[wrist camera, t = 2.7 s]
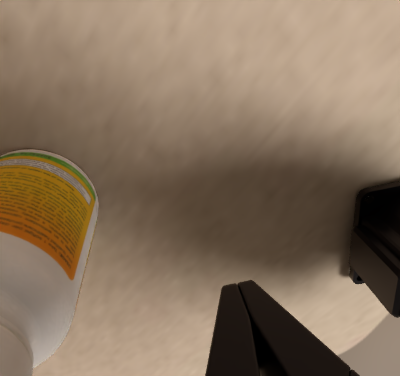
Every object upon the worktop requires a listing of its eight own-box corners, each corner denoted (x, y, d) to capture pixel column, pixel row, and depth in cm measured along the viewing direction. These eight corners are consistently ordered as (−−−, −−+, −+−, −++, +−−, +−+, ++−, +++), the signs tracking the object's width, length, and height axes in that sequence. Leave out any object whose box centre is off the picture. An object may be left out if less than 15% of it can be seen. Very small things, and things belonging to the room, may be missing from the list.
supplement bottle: (-36, 145, 14) (-311, 337, 6) (96, 146, 15) (29, 317, 7) (-9, 248, 17) (-175, 494, 8) (103, 245, 17) (62, 464, 9)
